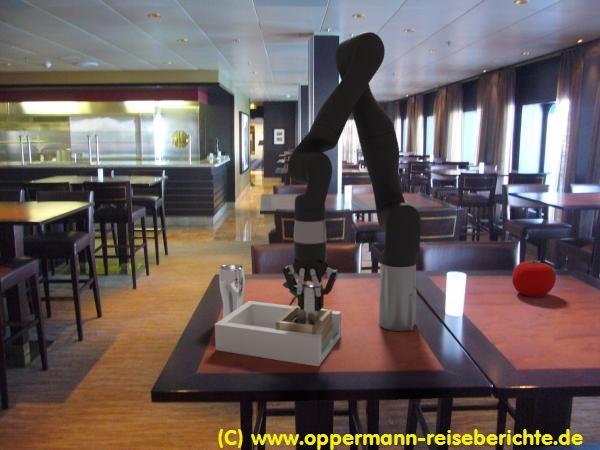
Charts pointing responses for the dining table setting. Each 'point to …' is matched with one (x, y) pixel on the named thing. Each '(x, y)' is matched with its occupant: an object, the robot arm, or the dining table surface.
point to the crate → (296, 324)
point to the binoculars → (291, 293)
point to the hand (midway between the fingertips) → (310, 309)
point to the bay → (272, 335)
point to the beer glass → (231, 287)
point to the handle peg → (309, 304)
